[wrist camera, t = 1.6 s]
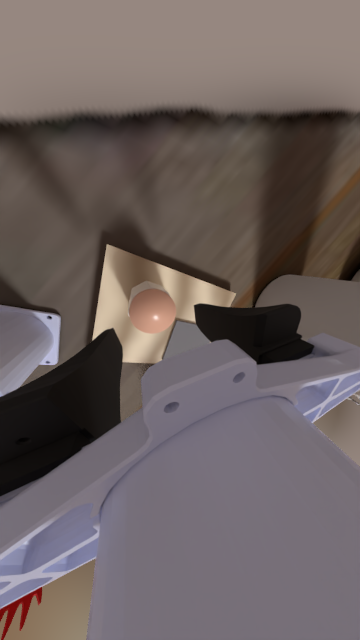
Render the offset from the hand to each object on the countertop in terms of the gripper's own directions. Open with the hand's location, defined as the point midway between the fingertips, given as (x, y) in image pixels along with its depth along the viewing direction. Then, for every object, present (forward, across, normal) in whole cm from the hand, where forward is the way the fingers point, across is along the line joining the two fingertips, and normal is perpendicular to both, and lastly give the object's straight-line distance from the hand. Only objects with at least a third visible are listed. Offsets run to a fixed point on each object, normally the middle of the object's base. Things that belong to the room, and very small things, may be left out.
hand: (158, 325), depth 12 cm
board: (+9, -2, +5) cm, 11 cm away
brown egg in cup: (+8, 0, 0) cm, 8 cm away
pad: (+8, -5, +10) cm, 13 cm away
